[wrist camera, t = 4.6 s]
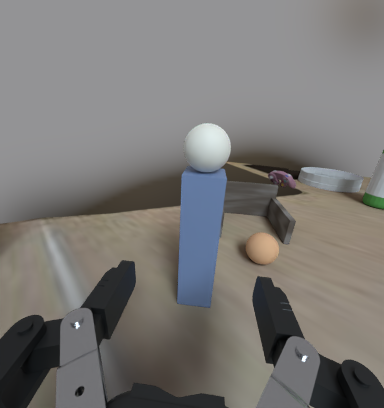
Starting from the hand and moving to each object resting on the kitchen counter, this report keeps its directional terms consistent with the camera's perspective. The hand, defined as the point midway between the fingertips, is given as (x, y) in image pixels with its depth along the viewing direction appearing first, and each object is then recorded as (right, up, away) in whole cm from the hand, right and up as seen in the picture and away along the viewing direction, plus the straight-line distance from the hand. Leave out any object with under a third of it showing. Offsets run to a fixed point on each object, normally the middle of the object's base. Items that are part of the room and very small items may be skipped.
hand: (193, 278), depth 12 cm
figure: (0, -7, +13) cm, 14 cm away
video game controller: (+34, +12, +62) cm, 72 cm away
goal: (+12, 0, +30) cm, 33 cm away
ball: (+11, -5, +19) cm, 23 cm away
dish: (+57, +13, +69) cm, 91 cm away
